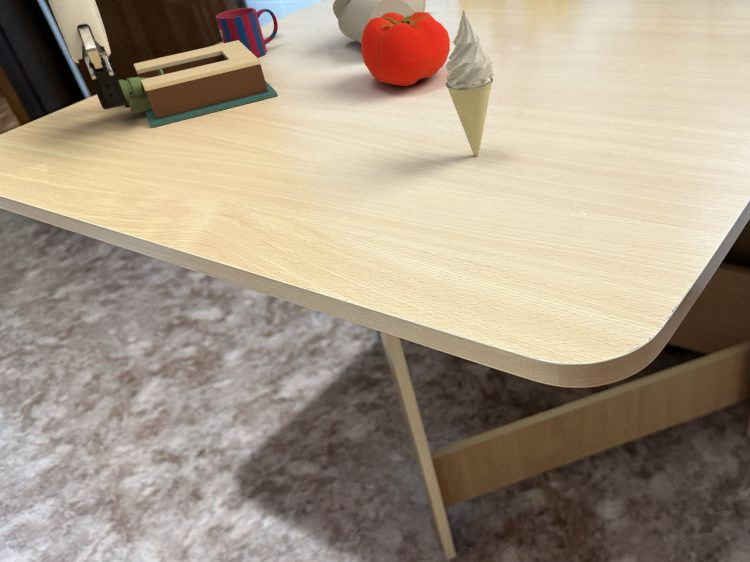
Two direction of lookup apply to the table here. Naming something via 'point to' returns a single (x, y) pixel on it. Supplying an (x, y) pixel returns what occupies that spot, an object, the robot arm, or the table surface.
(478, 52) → the ice cream cone
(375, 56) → the tomato
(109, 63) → the robot arm
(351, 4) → the bent grey cylinder
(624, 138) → the table surface
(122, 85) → the knife
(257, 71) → the tissue dispenser
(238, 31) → the mug
